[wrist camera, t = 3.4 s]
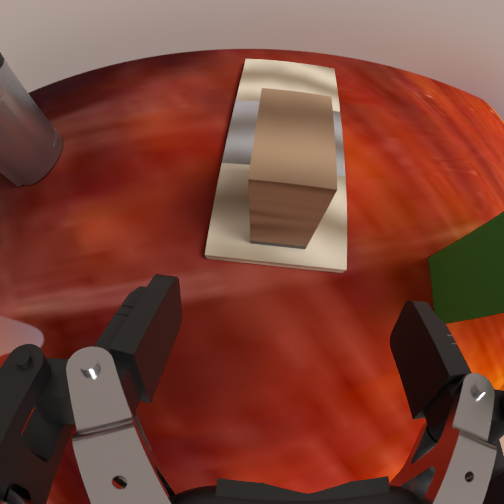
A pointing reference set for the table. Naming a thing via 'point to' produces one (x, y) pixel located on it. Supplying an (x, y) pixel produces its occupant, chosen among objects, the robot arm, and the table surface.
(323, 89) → the board
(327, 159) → the block
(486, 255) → the hardback book
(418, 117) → the table surface
